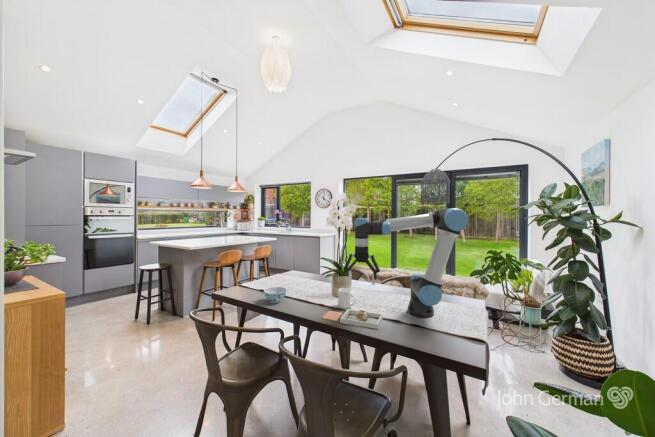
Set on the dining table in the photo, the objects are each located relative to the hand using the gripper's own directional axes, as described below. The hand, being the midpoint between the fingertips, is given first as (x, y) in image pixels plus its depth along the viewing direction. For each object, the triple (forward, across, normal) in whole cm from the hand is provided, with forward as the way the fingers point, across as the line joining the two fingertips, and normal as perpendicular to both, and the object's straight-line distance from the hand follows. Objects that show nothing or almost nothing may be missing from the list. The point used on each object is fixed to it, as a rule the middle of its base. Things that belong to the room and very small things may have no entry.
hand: (361, 283), depth 152 cm
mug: (+21, +14, -16) cm, 30 cm away
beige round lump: (+21, 0, 0) cm, 21 cm away
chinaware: (+21, +62, -8) cm, 66 cm away
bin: (+21, 0, 0) cm, 21 cm away
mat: (+21, +17, +1) cm, 27 cm away
